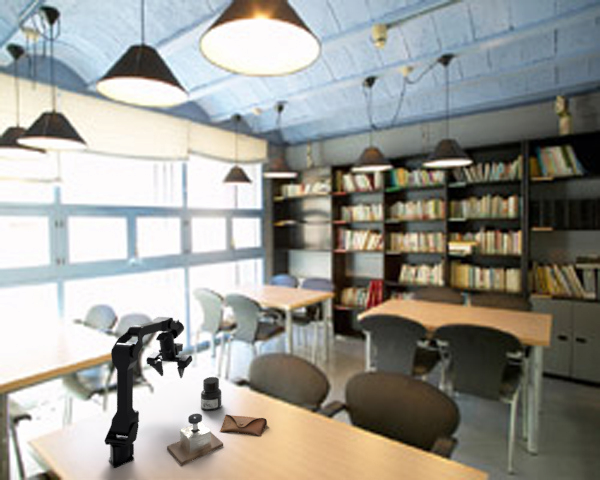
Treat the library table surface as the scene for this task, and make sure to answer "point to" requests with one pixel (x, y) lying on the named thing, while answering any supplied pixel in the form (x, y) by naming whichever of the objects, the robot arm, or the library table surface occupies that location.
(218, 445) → the walnut board
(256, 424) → the sunglasses case
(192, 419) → the plunger
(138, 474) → the library table surface
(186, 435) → the block
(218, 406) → the ink bottle
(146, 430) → the library table surface
